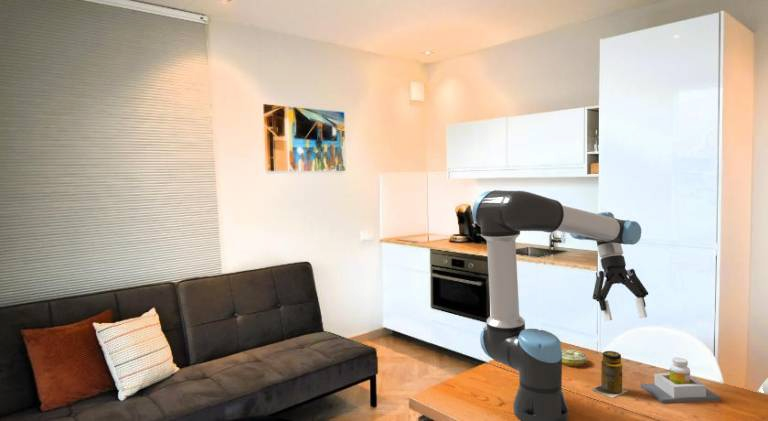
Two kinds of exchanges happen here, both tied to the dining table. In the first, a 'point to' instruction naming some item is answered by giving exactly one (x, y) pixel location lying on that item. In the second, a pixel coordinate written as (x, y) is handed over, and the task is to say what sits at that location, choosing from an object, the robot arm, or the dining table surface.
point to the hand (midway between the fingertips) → (626, 319)
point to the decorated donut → (573, 358)
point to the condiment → (611, 375)
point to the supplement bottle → (679, 371)
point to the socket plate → (678, 390)
